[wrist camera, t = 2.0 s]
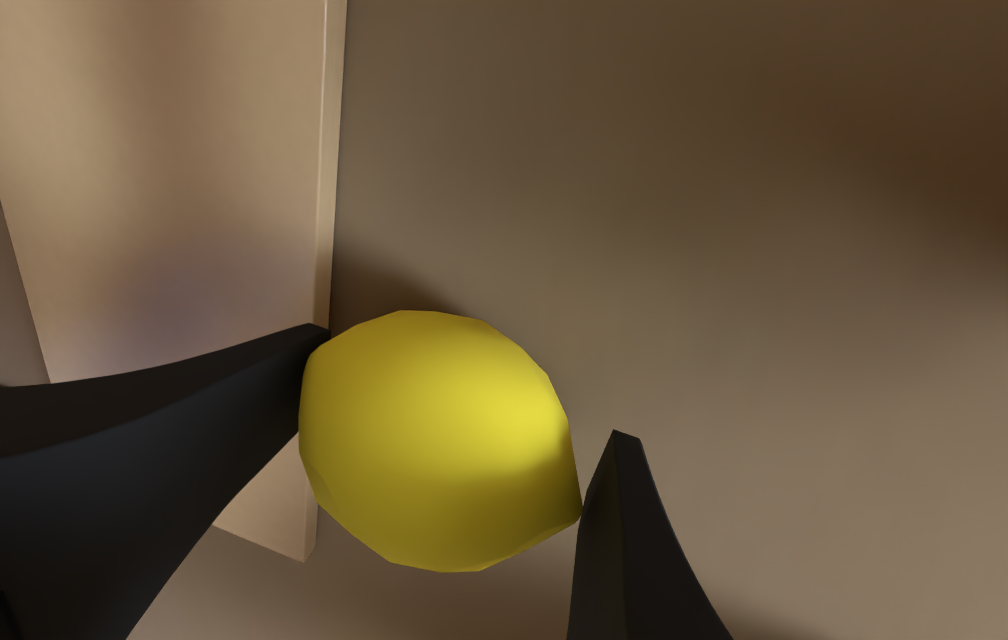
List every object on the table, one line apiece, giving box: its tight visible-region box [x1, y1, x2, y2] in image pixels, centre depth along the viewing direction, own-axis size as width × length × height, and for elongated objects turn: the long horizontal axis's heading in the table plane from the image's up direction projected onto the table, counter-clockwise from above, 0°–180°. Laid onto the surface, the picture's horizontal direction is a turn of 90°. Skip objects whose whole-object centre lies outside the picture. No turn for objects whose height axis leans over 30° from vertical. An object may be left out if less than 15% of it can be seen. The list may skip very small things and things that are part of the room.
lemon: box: [299, 310, 583, 573], centre depth 11 cm, size 7×5×5 cm
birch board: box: [0, 0, 347, 563], centre depth 15 cm, size 10×20×1 cm, turn 168°
